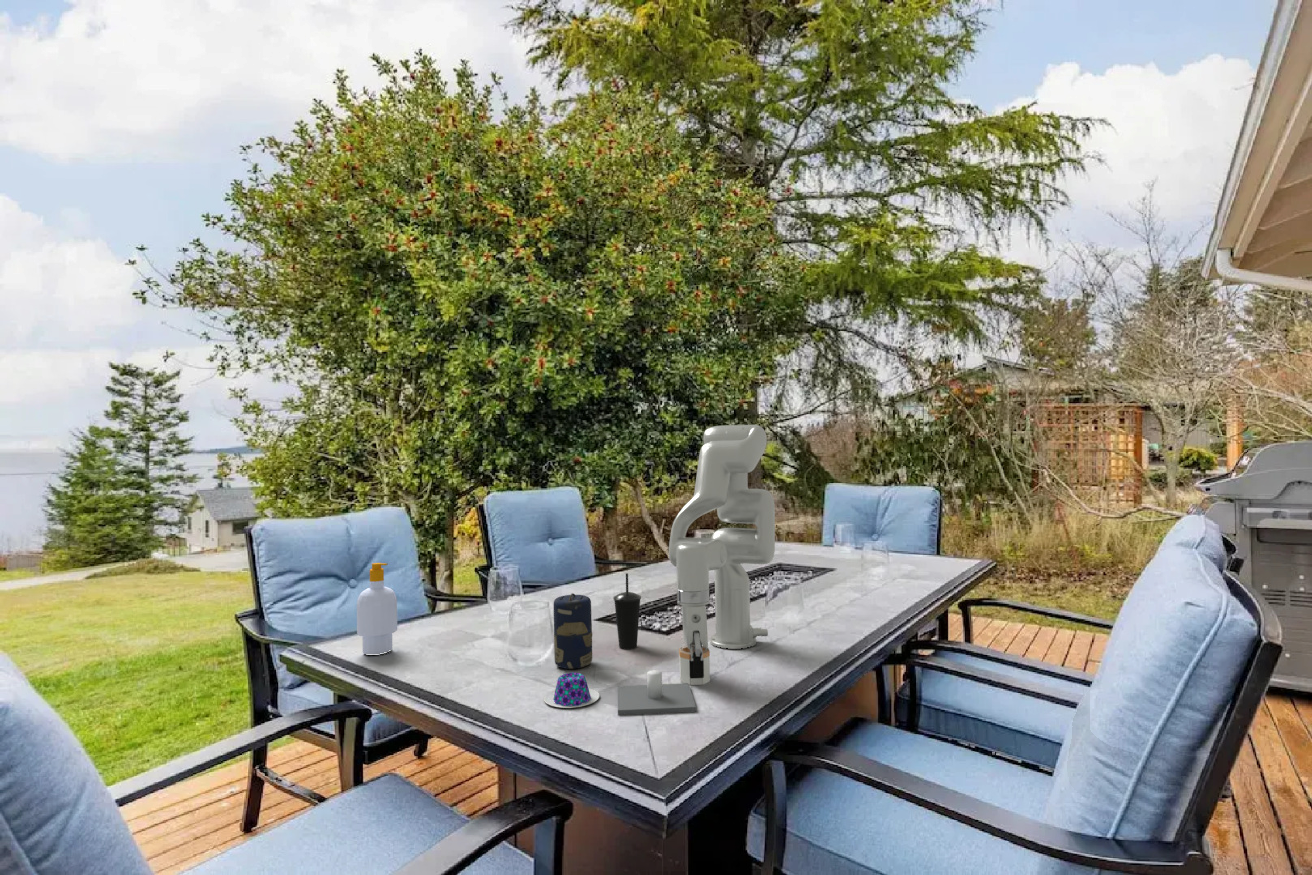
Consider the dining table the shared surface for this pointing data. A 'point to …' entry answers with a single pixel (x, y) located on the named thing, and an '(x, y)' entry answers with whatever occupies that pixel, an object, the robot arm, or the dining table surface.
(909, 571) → the dining table surface
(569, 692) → the pudding
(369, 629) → the soap bottle
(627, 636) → the drinking cup
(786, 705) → the dining table surface
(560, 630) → the canister
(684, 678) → the vent collar
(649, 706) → the base
